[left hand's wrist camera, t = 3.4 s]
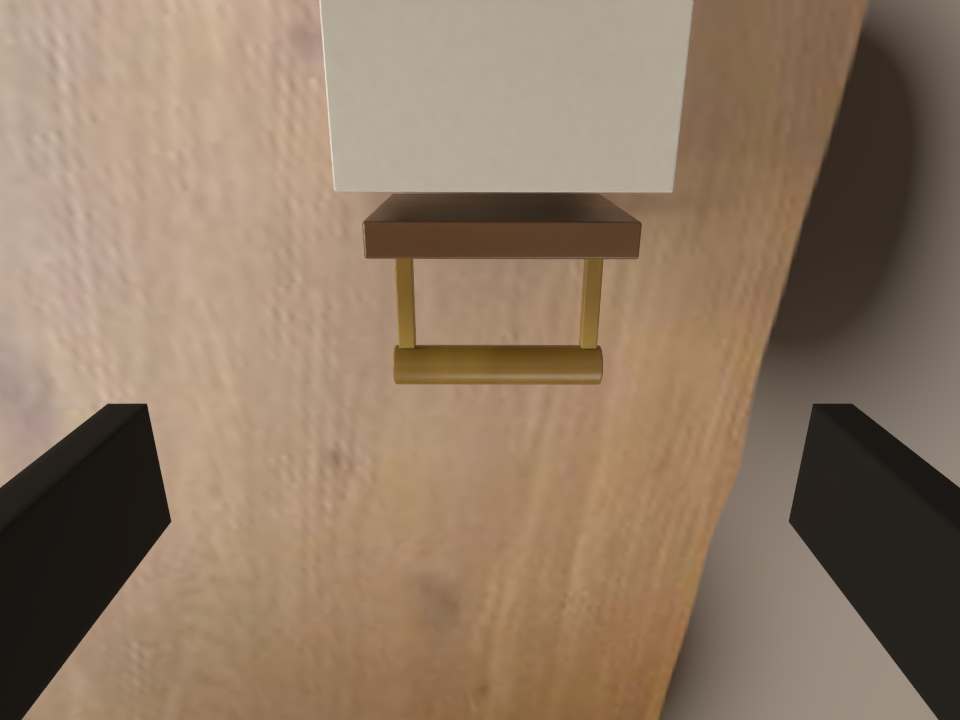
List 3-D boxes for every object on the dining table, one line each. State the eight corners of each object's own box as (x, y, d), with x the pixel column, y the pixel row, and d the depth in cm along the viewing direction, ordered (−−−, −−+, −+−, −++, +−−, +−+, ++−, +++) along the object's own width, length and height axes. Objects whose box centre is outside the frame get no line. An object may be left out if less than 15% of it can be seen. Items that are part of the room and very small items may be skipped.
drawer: (590, 342, 29) (624, 412, 23) (398, 342, 29) (373, 412, 22) (633, -281, 21) (707, -468, 15) (369, -282, 21) (317, -470, 14)
